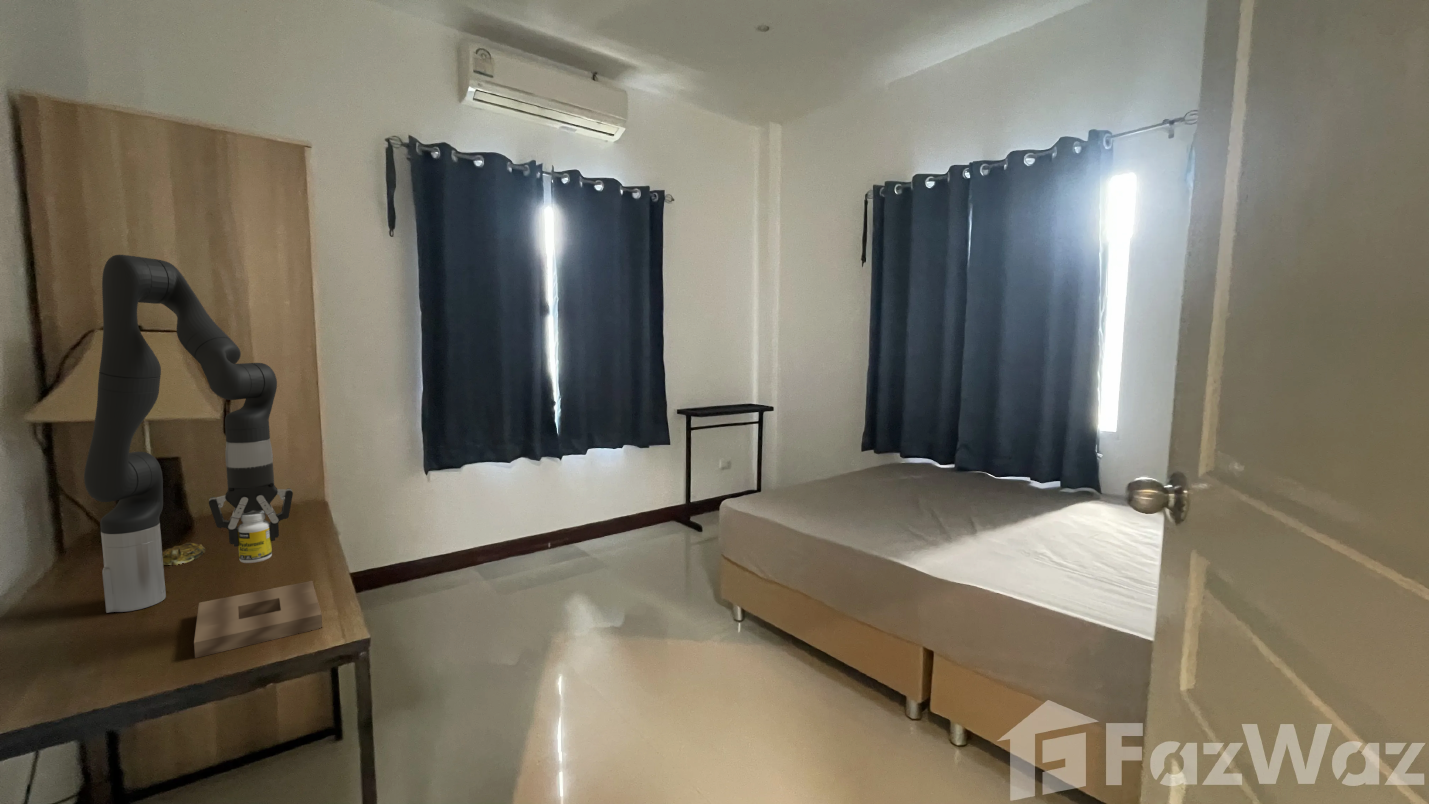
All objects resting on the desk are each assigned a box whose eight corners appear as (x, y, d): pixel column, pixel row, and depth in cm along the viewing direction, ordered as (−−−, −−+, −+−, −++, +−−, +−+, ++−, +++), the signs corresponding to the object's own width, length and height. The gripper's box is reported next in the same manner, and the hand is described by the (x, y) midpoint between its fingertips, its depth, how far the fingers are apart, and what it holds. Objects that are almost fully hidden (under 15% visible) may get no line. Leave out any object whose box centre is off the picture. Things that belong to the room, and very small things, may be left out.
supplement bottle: (234, 564, 122) (231, 517, 121) (245, 555, 127) (242, 509, 126) (266, 562, 124) (263, 515, 122) (276, 552, 129) (273, 507, 127)
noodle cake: (165, 554, 164) (152, 573, 151) (161, 538, 163) (147, 555, 151) (209, 545, 169) (200, 562, 156) (206, 529, 168) (196, 545, 155)
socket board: (195, 658, 113) (193, 642, 113) (200, 616, 128) (198, 602, 128) (322, 627, 125) (321, 614, 125) (312, 593, 141) (312, 580, 140)
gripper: (202, 470, 115) (209, 555, 117) (294, 461, 124) (298, 541, 126) (204, 462, 121) (210, 544, 123) (291, 454, 130) (296, 531, 132)
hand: (255, 542), depth 125 cm, fingers closed on supplement bottle, 5 cm apart
